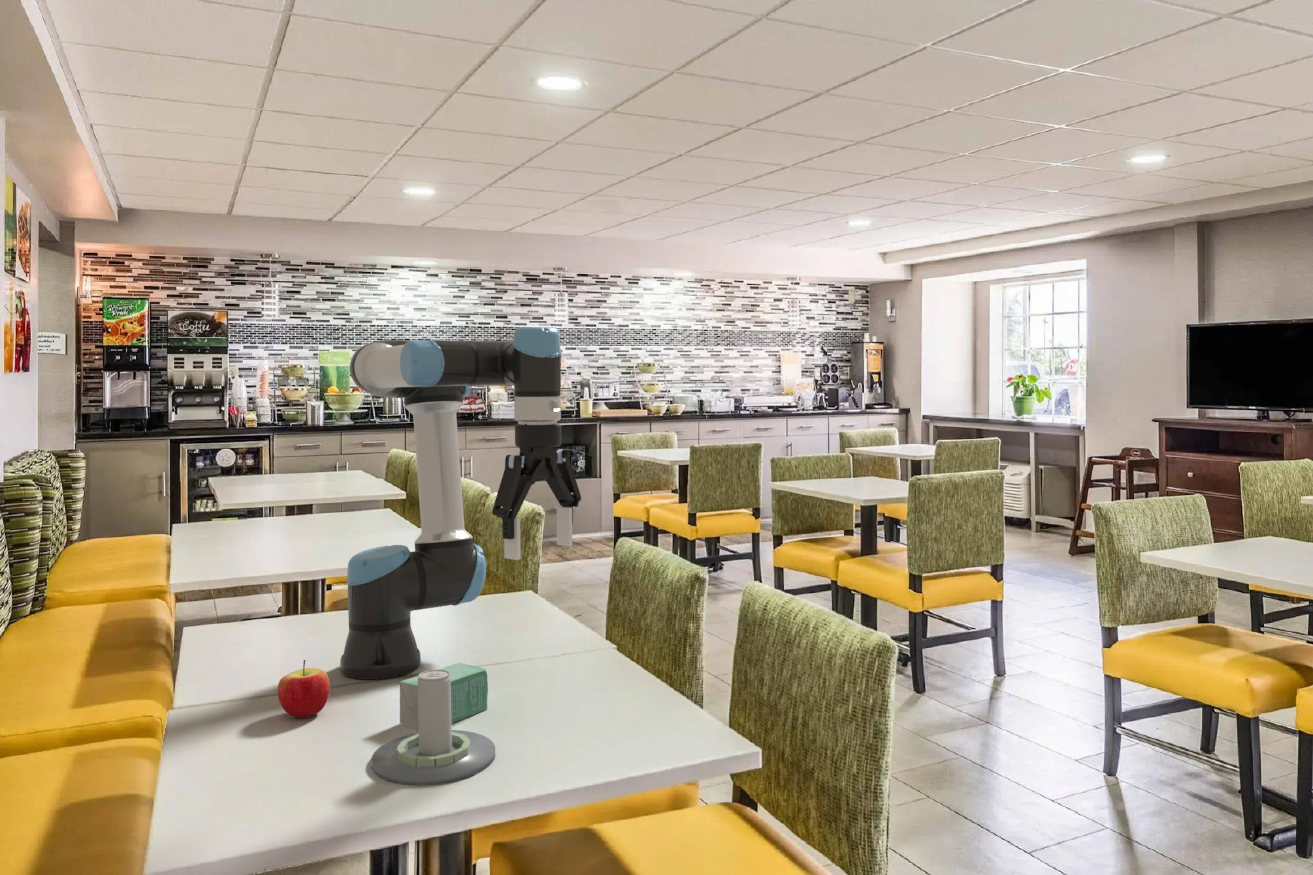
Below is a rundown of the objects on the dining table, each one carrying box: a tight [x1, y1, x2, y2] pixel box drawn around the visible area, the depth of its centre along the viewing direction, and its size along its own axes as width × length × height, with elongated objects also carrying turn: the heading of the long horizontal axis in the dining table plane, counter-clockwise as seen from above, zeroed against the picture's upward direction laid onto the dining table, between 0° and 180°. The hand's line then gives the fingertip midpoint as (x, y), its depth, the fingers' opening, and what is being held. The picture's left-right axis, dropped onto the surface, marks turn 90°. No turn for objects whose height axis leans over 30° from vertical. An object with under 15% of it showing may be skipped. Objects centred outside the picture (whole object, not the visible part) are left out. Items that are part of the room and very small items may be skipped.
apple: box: [277, 659, 331, 719], centre depth 161 cm, size 8×8×10 cm
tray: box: [371, 729, 496, 786], centre depth 143 cm, size 18×18×2 cm
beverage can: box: [417, 669, 453, 756], centre depth 142 cm, size 5×5×12 cm
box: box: [399, 662, 489, 731], centre depth 160 cm, size 7×14×8 cm, turn 145°
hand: (539, 552), depth 156 cm, fingers open, 13 cm apart
